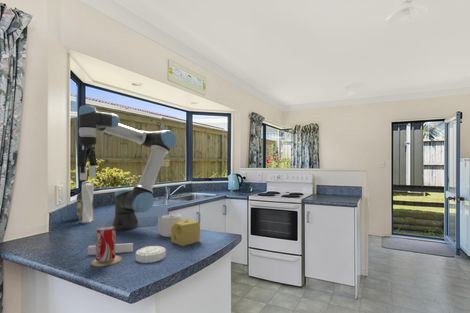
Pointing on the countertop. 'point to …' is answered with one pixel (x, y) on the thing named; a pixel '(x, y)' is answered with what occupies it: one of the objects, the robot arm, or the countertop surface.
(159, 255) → the mooncake
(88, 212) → the white bottle
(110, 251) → the soda can
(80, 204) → the liquor
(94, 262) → the coaster
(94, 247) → the divider
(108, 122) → the robot arm
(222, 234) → the countertop surface
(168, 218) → the toilet tissue
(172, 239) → the cheese
